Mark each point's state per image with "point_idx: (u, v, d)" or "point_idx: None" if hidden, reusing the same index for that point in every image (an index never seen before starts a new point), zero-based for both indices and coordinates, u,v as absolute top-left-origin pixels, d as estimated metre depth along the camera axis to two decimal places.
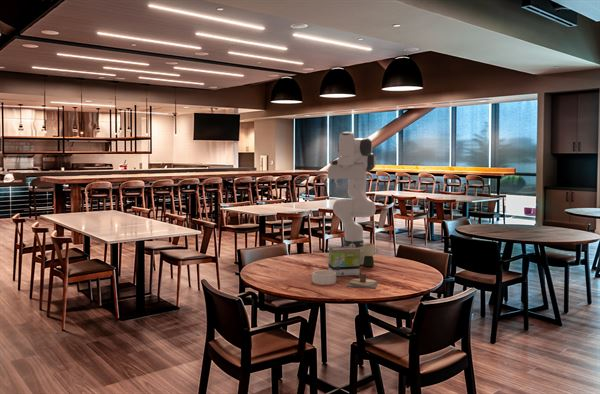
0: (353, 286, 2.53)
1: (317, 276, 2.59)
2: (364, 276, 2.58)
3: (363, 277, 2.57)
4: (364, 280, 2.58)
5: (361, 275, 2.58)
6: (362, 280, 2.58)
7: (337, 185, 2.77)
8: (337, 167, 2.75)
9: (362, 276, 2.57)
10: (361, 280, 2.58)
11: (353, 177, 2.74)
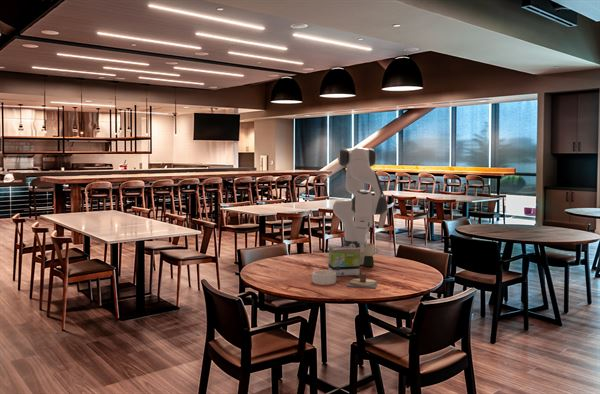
0: (353, 286, 2.53)
1: (317, 276, 2.59)
2: (364, 276, 2.58)
3: (363, 277, 2.57)
4: (364, 280, 2.58)
5: (361, 275, 2.58)
6: (362, 280, 2.58)
7: (363, 248, 2.53)
8: (367, 229, 2.52)
9: (362, 276, 2.57)
10: (361, 280, 2.58)
11: (367, 237, 2.61)
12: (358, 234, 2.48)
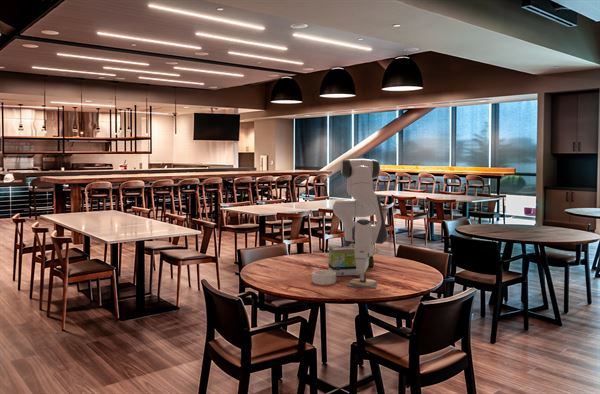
0: (353, 286, 2.53)
1: (317, 276, 2.59)
2: (364, 276, 2.58)
3: None
4: (364, 280, 2.58)
5: None
6: (362, 280, 2.58)
7: None
8: (366, 259, 2.53)
9: None
10: (361, 280, 2.58)
11: (367, 266, 2.62)
12: (358, 265, 2.49)
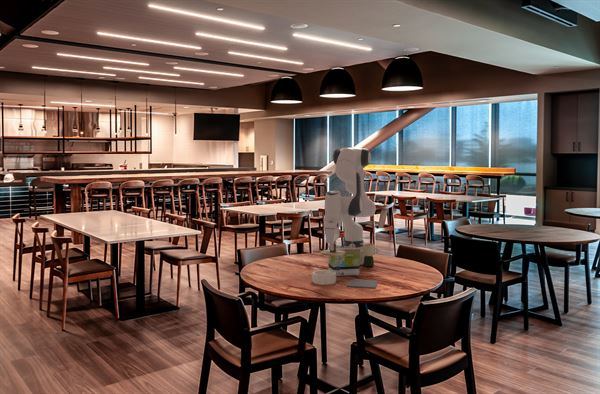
0: (353, 286, 2.53)
1: (317, 276, 2.59)
2: (334, 246, 2.60)
3: None
4: (334, 250, 2.60)
5: None
6: None
7: (333, 248, 2.59)
8: (336, 229, 2.56)
9: None
10: (331, 250, 2.60)
11: (337, 237, 2.65)
12: (327, 235, 2.52)
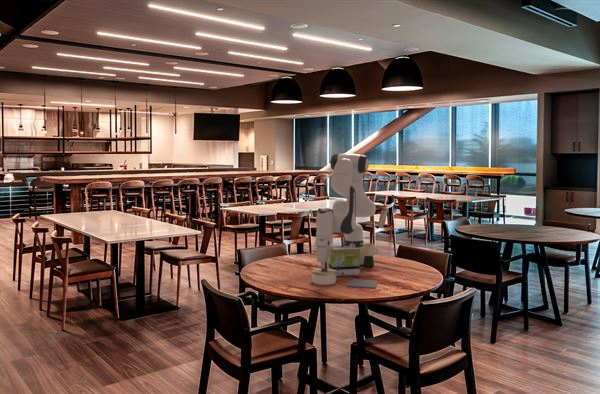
0: (353, 286, 2.53)
1: (317, 276, 2.59)
2: (325, 266, 2.62)
3: None
4: (325, 269, 2.62)
5: None
6: (323, 269, 2.62)
7: (324, 266, 2.60)
8: (327, 247, 2.58)
9: None
10: (322, 269, 2.62)
11: (329, 254, 2.67)
12: (318, 253, 2.54)
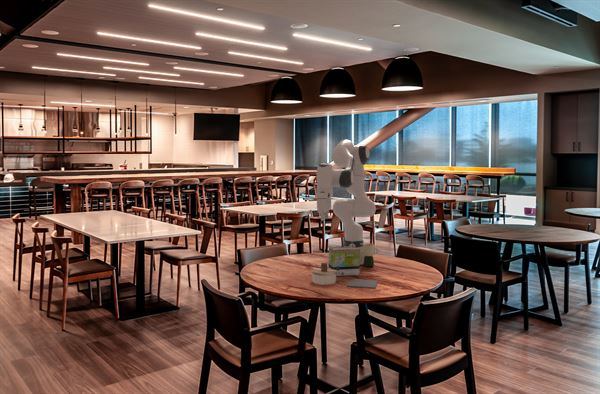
0: (353, 286, 2.53)
1: (317, 276, 2.59)
2: (325, 266, 2.62)
3: (324, 267, 2.62)
4: (325, 269, 2.62)
5: (322, 265, 2.62)
6: (323, 269, 2.62)
7: (324, 218, 2.67)
8: (327, 200, 2.66)
9: (323, 266, 2.62)
10: (322, 269, 2.62)
11: (329, 208, 2.75)
12: (318, 204, 2.62)
